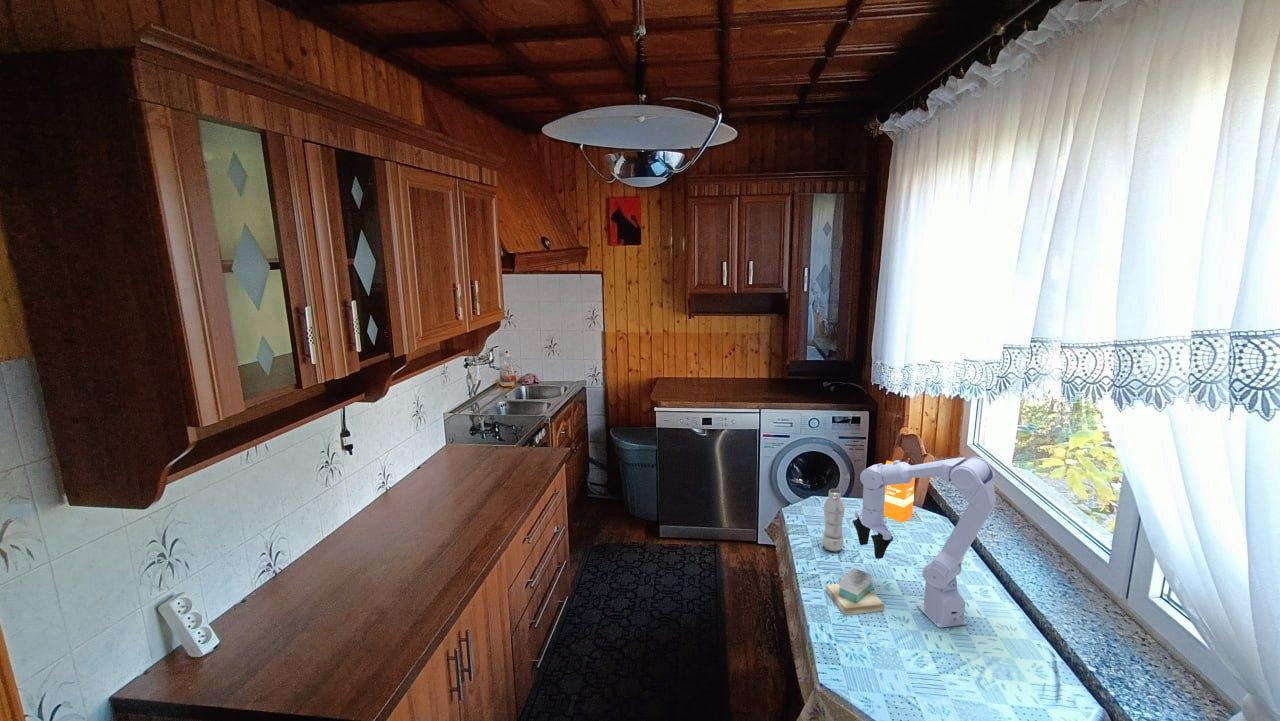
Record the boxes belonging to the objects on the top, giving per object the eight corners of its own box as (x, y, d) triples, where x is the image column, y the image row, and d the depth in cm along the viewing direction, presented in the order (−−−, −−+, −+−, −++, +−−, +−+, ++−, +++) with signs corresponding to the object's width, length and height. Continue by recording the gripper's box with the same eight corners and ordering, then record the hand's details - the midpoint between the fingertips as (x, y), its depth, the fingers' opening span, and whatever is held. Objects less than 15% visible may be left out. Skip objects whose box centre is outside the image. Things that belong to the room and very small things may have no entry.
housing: (856, 603, 149) (857, 586, 148) (839, 595, 153) (839, 579, 152) (870, 591, 154) (871, 575, 153) (853, 584, 158) (854, 567, 157)
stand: (883, 610, 149) (884, 604, 148) (844, 615, 147) (845, 608, 147) (862, 587, 160) (862, 580, 159) (826, 591, 158) (826, 584, 158)
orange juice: (888, 508, 208) (891, 457, 204) (912, 516, 201) (916, 463, 198) (878, 514, 203) (881, 463, 199) (902, 523, 196) (906, 469, 193)
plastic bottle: (820, 551, 179) (822, 493, 176) (824, 542, 185) (826, 485, 182) (841, 556, 176) (843, 497, 173) (844, 546, 182) (846, 488, 179)
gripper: (902, 516, 151) (899, 562, 153) (871, 494, 165) (869, 537, 167) (879, 519, 149) (876, 565, 152) (849, 497, 164) (847, 539, 166)
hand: (871, 551), depth 159 cm, fingers open, 7 cm apart
